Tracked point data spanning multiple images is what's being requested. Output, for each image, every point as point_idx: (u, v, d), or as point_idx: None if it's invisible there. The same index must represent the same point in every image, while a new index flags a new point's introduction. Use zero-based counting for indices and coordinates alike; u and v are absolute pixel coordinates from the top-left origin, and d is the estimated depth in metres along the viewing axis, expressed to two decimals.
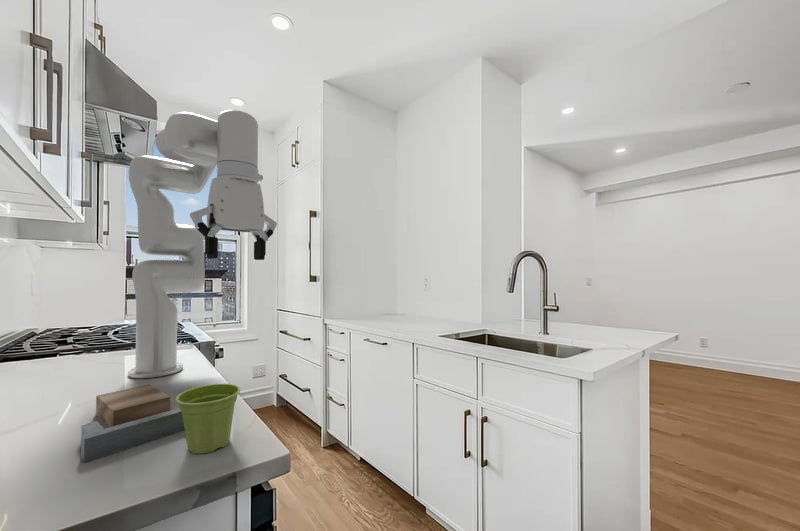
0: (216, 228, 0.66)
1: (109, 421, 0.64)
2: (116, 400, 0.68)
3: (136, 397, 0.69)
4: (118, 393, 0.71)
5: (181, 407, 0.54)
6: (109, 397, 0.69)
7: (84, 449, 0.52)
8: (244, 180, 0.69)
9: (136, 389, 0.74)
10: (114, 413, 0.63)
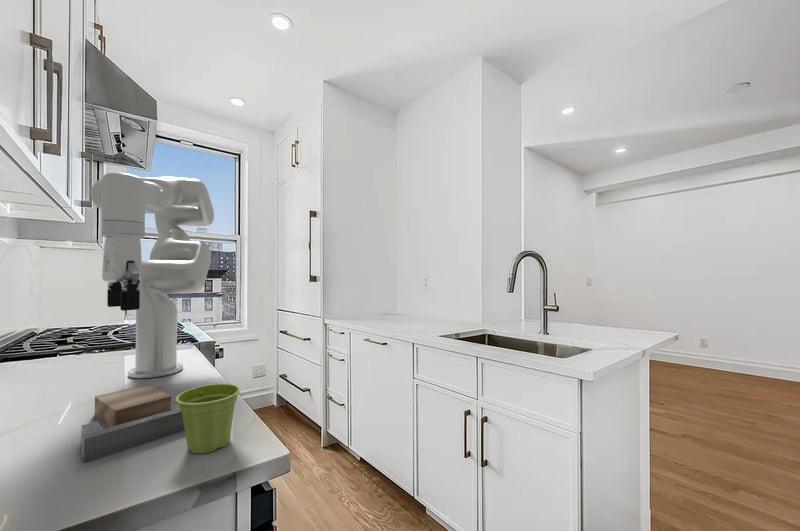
0: None
1: (110, 421, 0.64)
2: (117, 400, 0.68)
3: (137, 397, 0.69)
4: (117, 394, 0.71)
5: (181, 407, 0.54)
6: (108, 398, 0.69)
7: (84, 449, 0.52)
8: None
9: (135, 389, 0.73)
10: (116, 413, 0.63)
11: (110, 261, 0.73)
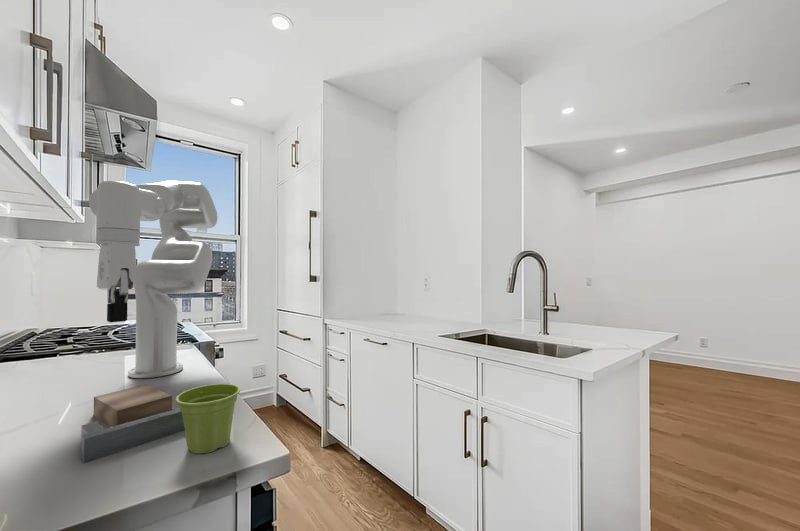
0: None
1: (112, 421, 0.64)
2: (117, 400, 0.67)
3: (137, 397, 0.69)
4: (116, 394, 0.71)
5: (181, 407, 0.54)
6: (108, 398, 0.68)
7: (84, 449, 0.52)
8: None
9: (134, 389, 0.73)
10: (118, 413, 0.63)
11: (104, 269, 0.73)
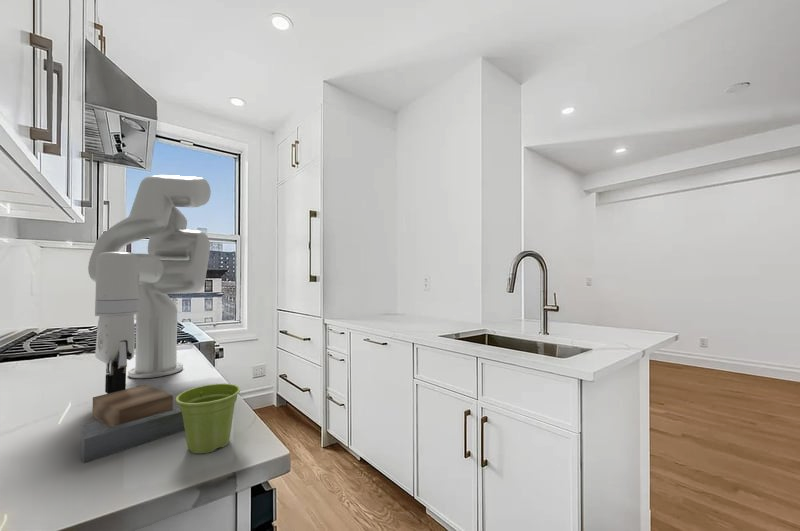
0: None
1: (113, 421, 0.64)
2: (117, 400, 0.67)
3: (137, 397, 0.69)
4: (116, 394, 0.71)
5: (181, 407, 0.54)
6: (108, 398, 0.68)
7: (84, 449, 0.52)
8: None
9: (133, 389, 0.73)
10: (120, 412, 0.63)
11: (103, 342, 0.73)
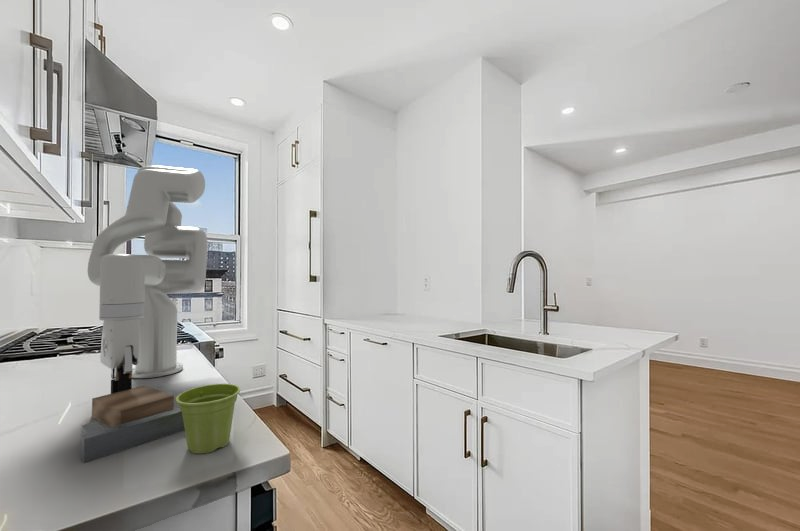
0: None
1: (114, 422, 0.64)
2: (117, 401, 0.67)
3: (138, 397, 0.69)
4: (115, 395, 0.70)
5: (181, 407, 0.54)
6: (108, 399, 0.68)
7: (84, 449, 0.52)
8: None
9: (132, 390, 0.73)
10: (121, 413, 0.63)
11: (108, 347, 0.71)
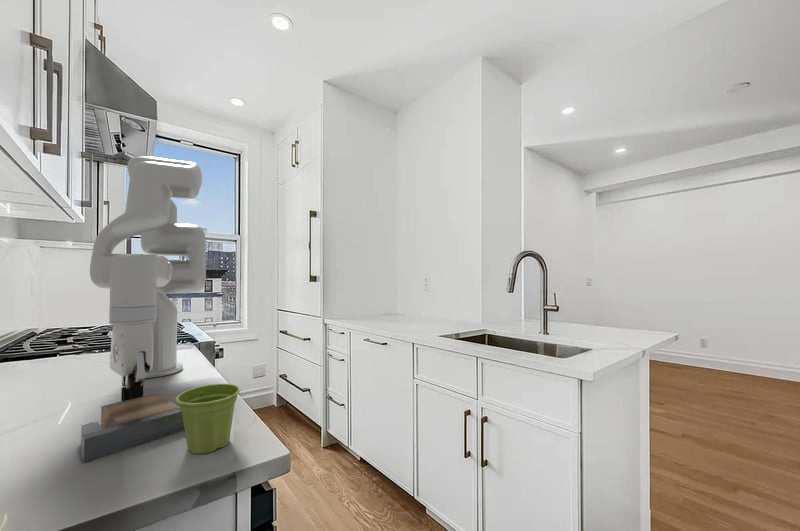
0: None
1: None
2: (123, 411, 0.62)
3: (144, 408, 0.64)
4: (125, 403, 0.66)
5: (181, 407, 0.54)
6: (115, 408, 0.64)
7: (84, 449, 0.52)
8: None
9: (144, 398, 0.68)
10: None
11: (119, 353, 0.67)
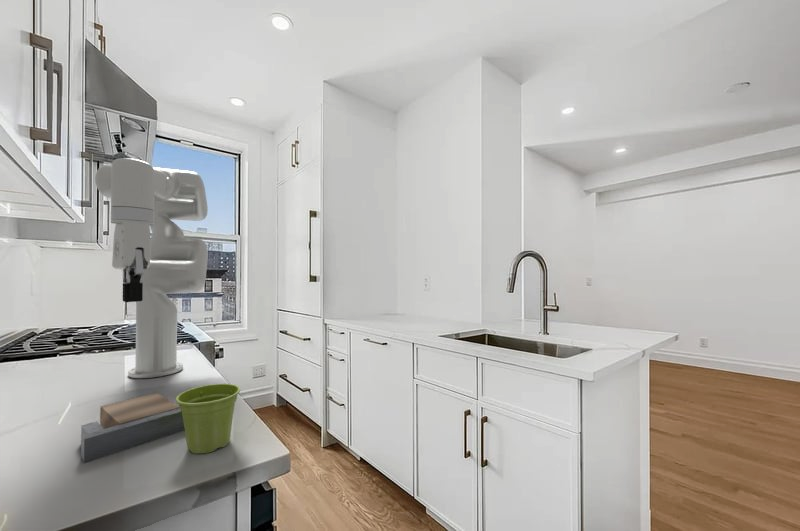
0: None
1: None
2: (122, 411, 0.62)
3: (144, 408, 0.64)
4: (124, 403, 0.66)
5: (181, 407, 0.54)
6: (114, 408, 0.63)
7: (84, 449, 0.52)
8: None
9: (143, 398, 0.68)
10: None
11: (119, 248, 0.72)
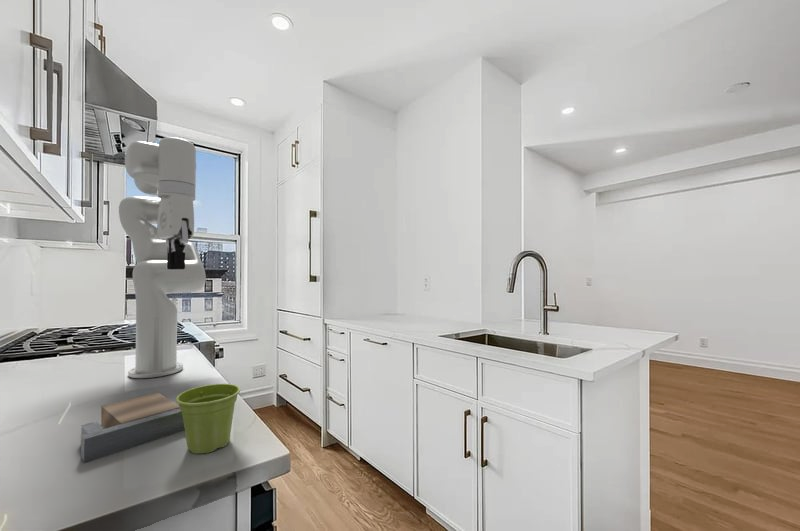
0: None
1: None
2: (124, 410, 0.63)
3: (145, 407, 0.64)
4: (125, 403, 0.66)
5: (181, 407, 0.54)
6: (115, 408, 0.64)
7: (84, 449, 0.52)
8: None
9: (144, 398, 0.69)
10: None
11: (167, 218, 0.79)
